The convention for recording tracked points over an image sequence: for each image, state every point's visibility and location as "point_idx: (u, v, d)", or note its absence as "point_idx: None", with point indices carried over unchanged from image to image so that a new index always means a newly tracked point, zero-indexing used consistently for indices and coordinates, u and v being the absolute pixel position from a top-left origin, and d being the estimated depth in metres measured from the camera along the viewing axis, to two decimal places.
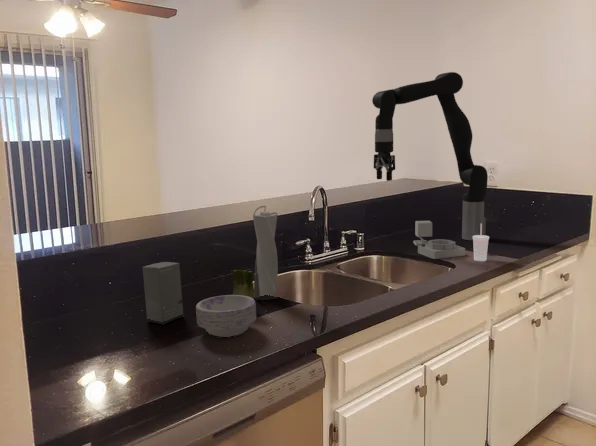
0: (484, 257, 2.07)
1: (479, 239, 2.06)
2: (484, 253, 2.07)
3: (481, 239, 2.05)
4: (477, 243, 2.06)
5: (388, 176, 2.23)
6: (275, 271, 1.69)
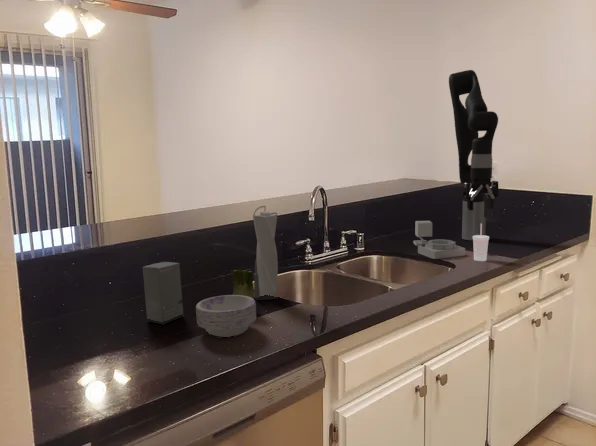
0: (484, 257, 2.07)
1: (479, 239, 2.06)
2: (484, 253, 2.07)
3: (481, 239, 2.05)
4: (477, 243, 2.06)
5: (492, 204, 2.07)
6: (275, 271, 1.69)
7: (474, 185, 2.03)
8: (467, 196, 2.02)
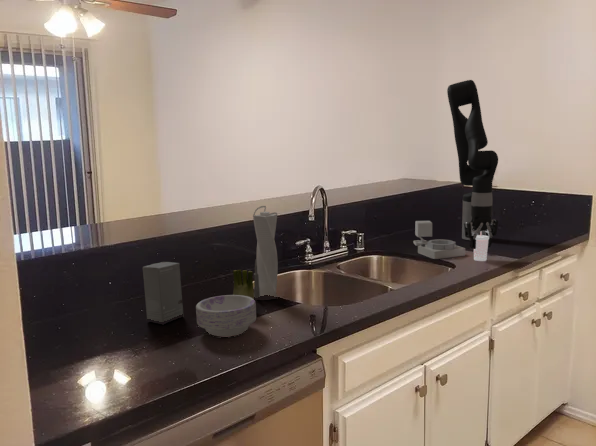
0: (484, 257, 2.07)
1: (479, 239, 2.06)
2: (484, 253, 2.07)
3: (481, 239, 2.05)
4: (477, 243, 2.06)
5: (490, 242, 2.09)
6: (275, 271, 1.69)
7: (474, 224, 2.05)
8: (470, 235, 2.05)
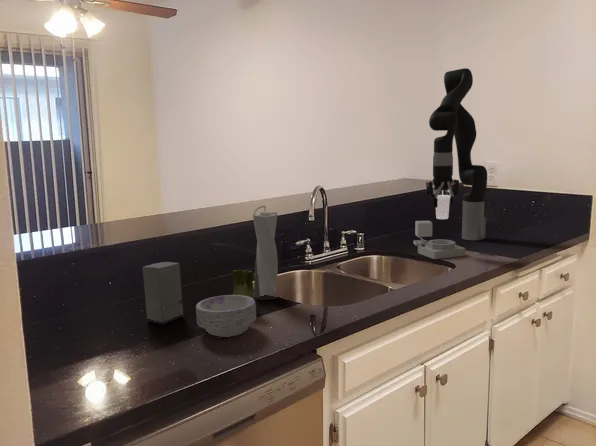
0: (446, 215, 2.15)
1: (440, 198, 2.13)
2: (445, 211, 2.15)
3: (442, 198, 2.13)
4: (439, 202, 2.14)
5: (452, 201, 2.17)
6: (275, 271, 1.69)
7: (436, 183, 2.13)
8: (431, 194, 2.13)
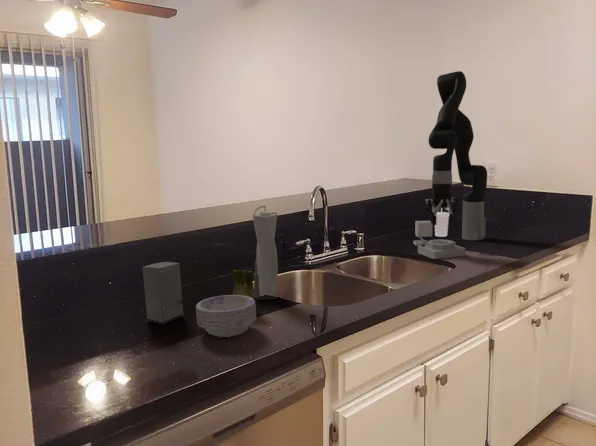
0: (444, 233, 2.16)
1: (439, 215, 2.15)
2: (444, 229, 2.16)
3: (441, 215, 2.15)
4: (438, 220, 2.16)
5: (451, 219, 2.18)
6: (275, 271, 1.69)
7: (435, 201, 2.14)
8: (430, 212, 2.14)
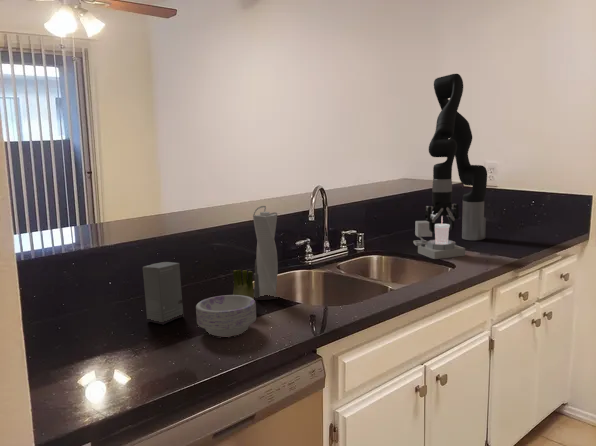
0: None
1: (440, 227, 2.16)
2: (445, 240, 2.17)
3: (441, 227, 2.15)
4: (438, 231, 2.16)
5: (453, 225, 2.19)
6: (275, 271, 1.69)
7: (435, 208, 2.15)
8: (428, 219, 2.14)
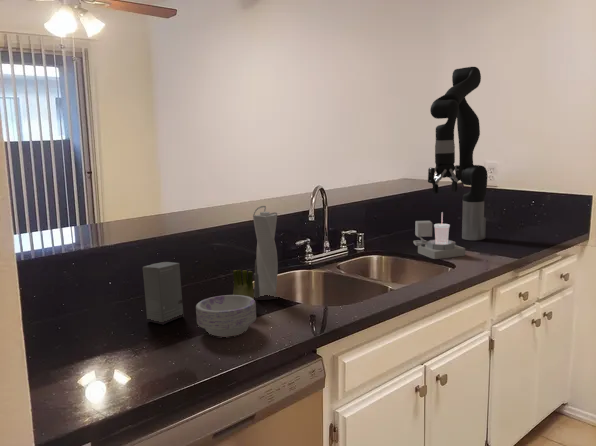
0: None
1: (440, 227, 2.16)
2: (445, 240, 2.17)
3: (441, 227, 2.15)
4: (438, 231, 2.16)
5: (456, 187, 2.20)
6: (275, 271, 1.69)
7: (438, 170, 2.15)
8: (432, 180, 2.15)
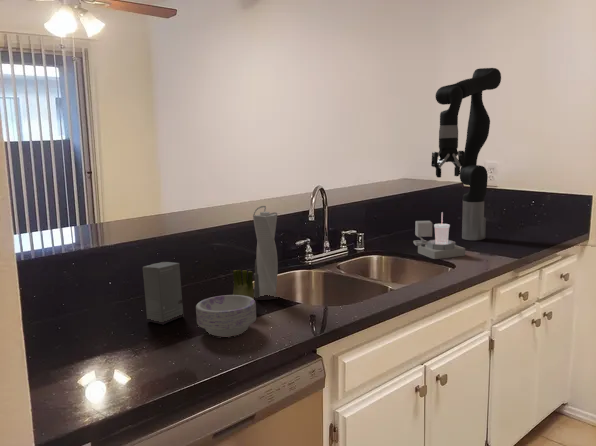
0: None
1: (440, 227, 2.16)
2: (445, 240, 2.17)
3: (441, 227, 2.15)
4: (438, 231, 2.16)
5: (459, 171, 2.26)
6: (275, 271, 1.69)
7: (442, 154, 2.21)
8: (435, 164, 2.21)
